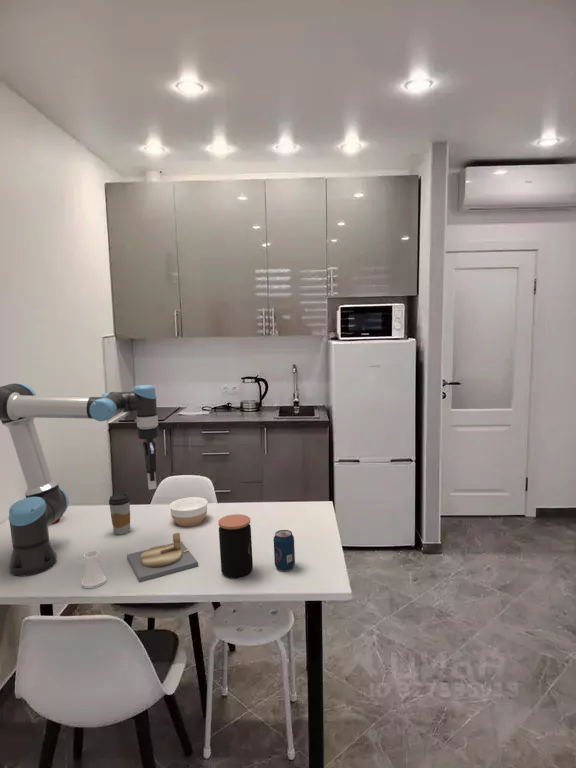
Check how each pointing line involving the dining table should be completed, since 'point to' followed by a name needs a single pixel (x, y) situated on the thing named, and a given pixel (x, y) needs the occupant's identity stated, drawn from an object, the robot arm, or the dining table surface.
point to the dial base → (154, 572)
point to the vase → (93, 571)
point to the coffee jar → (235, 546)
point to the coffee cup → (120, 513)
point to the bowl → (189, 510)
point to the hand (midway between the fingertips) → (152, 488)
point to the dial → (163, 554)
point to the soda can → (284, 550)
